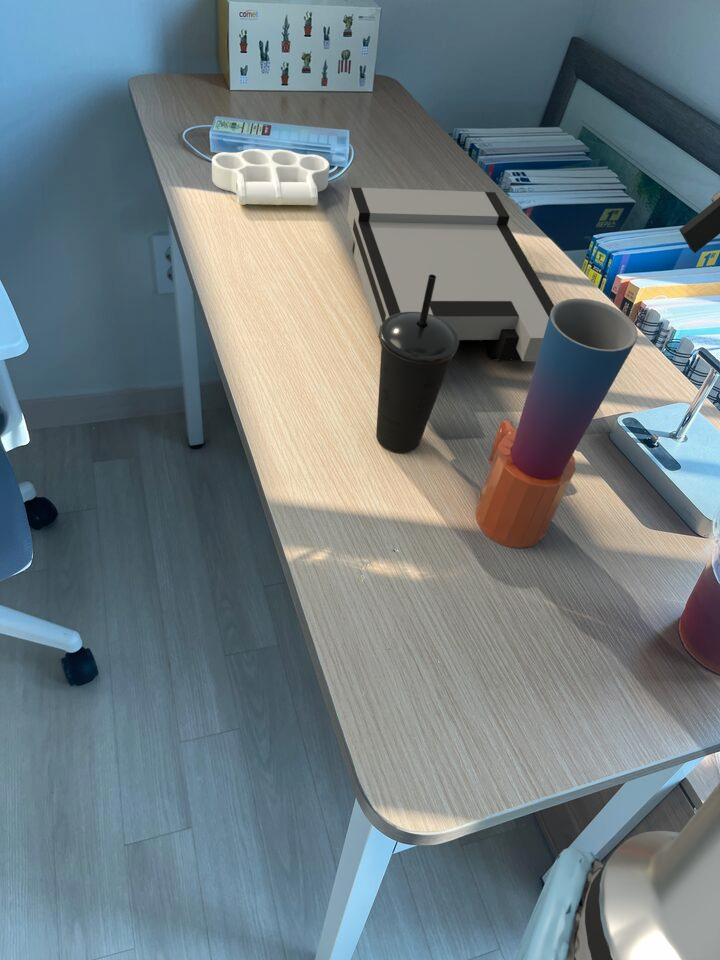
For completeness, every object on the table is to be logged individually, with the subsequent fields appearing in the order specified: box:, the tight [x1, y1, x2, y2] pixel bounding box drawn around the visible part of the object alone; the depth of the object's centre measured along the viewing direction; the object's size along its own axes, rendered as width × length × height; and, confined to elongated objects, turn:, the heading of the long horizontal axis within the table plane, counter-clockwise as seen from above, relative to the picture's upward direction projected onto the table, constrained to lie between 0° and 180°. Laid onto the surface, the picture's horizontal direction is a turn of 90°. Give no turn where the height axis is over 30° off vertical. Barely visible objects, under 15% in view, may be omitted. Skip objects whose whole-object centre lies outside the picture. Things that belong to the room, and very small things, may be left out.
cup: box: [511, 297, 639, 479], centre depth 63 cm, size 7×7×15 cm
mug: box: [475, 419, 577, 549], centre depth 73 cm, size 10×7×9 cm
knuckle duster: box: [211, 148, 330, 207], centre depth 116 cm, size 3×18×15 cm
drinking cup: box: [375, 274, 460, 454], centre depth 75 cm, size 8×8×20 cm
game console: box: [346, 186, 555, 362], centre depth 97 cm, size 21×32×8 cm, turn 10°
